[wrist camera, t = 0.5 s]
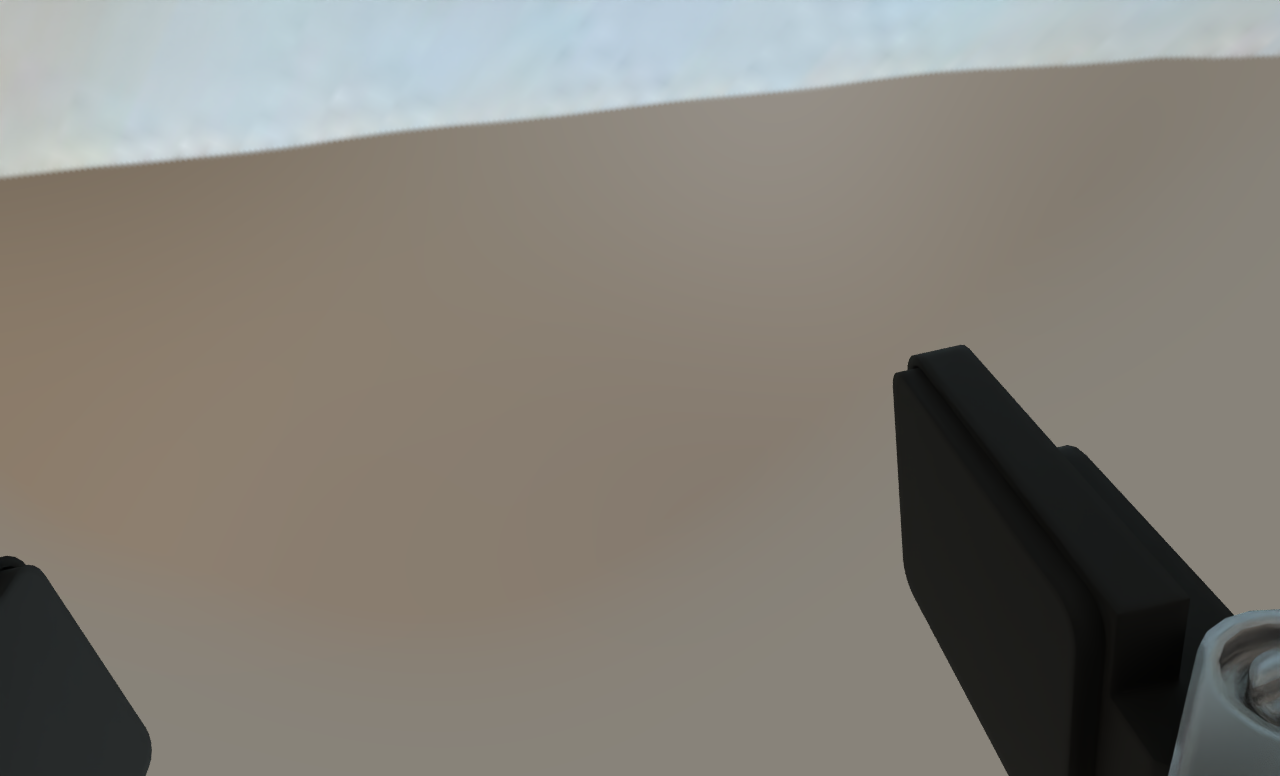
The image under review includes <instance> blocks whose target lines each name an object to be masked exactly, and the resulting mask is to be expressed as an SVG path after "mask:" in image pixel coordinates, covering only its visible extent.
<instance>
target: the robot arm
mask: <svg viewBox="0 0 1280 776" xmlns="http://www.w3.org/2000/svg"><path fill="white" fill-rule="evenodd" d="M893 394H894V412H895V429H896V444H897V445H896V446H897V463H898V480H899V497H900V514H901V531H902V547H903V562H904V569H905V574H906V577H907V581H908V583H909V586H910V589H911V591H912V594H913V596H914V598H915V600H916V601H917V603H918V605H919V607H920V609H921V611H922V613H923V615H924V616H925V618H926V620H927V622H928V624H929V626H930V628H931V630H932V632H933V634H934V636H935V637H936V639H937V641H938V643H939V645H940V647H941V649H942V651H943V652H944V654H945V656H946V658H947V660H948V662H949V664H950V666H951V667H952V670H953V671H954V673H955V675H956V677H957V679H958V681H959V683H960V685H961V686H962V688H963V690H964V692H965V694H966V696H967V698H968V700H969V702H970V704H971V705H972V707H973V709H974V711H975V713H976V715H977V717H978V718H979V721H980V722H981V724H982V726H983V728H984V730H985V732H986V734H987V736H988V737H989V739H990V741H991V743H992V745H993V747H994V749H995V750H996V753H997V755H998V756H999V758H1000V760H1001V762H1002V764H1003V766H1004V768H1005V770H1006V771H1007V773H1008V775H1009V776H1280V609H1278V610H1257V611H1248V612H1245V613H1242V614H1238V615H1235V616H1234V615H1233V614H1232V613H1231V611H1230V610H1229V609H1228V608H1227V607H1226V606H1225V605H1224V604H1223V603H1222V602H1221V601H1220V599H1218V597H1217V596H1216V595H1215V594H1214V593H1213V592H1212V591H1211V590H1210V589H1209V588H1208V587H1207V585H1206V584H1205V583H1204V582H1203V581H1202V580H1201V579H1200V578H1199V577H1198V576H1197V575H1196V574H1195V572H1194V571H1193V570H1192V569H1191V568H1190V567H1189V566H1188V565H1187V564H1186V563H1185V562H1184V561H1183V559H1182V558H1181V557H1180V556H1179V555H1178V554H1177V553H1176V552H1175V551H1174V550H1173V549H1172V548H1171V546H1169V544H1168V543H1167V542H1166V541H1165V540H1164V539H1163V538H1162V537H1161V536H1160V535H1159V534H1158V532H1157V531H1156V530H1155V529H1154V528H1153V527H1152V526H1151V525H1150V524H1149V523H1148V522H1147V520H1146V519H1145V518H1144V517H1143V516H1142V515H1141V514H1140V513H1139V512H1138V511H1137V510H1136V509H1135V507H1134V506H1133V505H1132V504H1131V503H1130V502H1129V501H1128V500H1127V499H1126V498H1125V497H1124V496H1123V494H1122V493H1121V492H1120V491H1119V490H1118V489H1117V488H1116V487H1115V486H1114V485H1113V484H1112V483H1111V481H1110V480H1109V479H1108V478H1107V477H1106V476H1105V475H1104V474H1103V473H1102V472H1101V471H1100V470H1099V468H1097V467H1096V465H1095V464H1094V463H1093V462H1092V461H1091V460H1090V459H1089V458H1088V457H1087V456H1086V455H1085V454H1084V453H1083V452H1082V451H1080V450H1079V449H1078V448H1077V447H1073V446H1069V445H1066V446H1062V447H1056V446H1055V445H1054V444H1053V442H1052V441H1051V440H1050V439H1049V438H1048V437H1047V436H1046V435H1045V433H1043V431H1042V430H1041V429H1040V428H1039V427H1038V426H1037V424H1036V423H1035V422H1034V421H1033V420H1032V419H1031V418H1030V417H1029V415H1028V414H1027V413H1026V412H1025V411H1024V410H1023V409H1022V408H1021V406H1020V405H1019V404H1018V403H1017V402H1016V401H1015V400H1014V398H1013V397H1012V396H1011V395H1010V394H1009V393H1008V392H1007V391H1006V389H1005V388H1004V387H1003V386H1002V385H1001V384H1000V383H999V382H998V380H997V379H996V378H995V377H994V376H993V375H992V374H991V373H990V371H989V370H988V369H987V368H986V367H985V366H984V365H983V364H982V362H981V361H980V360H979V359H978V358H977V357H976V356H975V355H974V353H973V352H972V351H971V350H970V349H969V348H968V347H966V346H965V345H958V346H954V347H949V348H944V349H940V350H935V351H931V352H926V353H922V354H918V355H913V356H911V357H910V359H909V362H908V370H907V371H902V372H898V373H895V375H894V378H893ZM151 752H152V749H151V740H150V737H149V733H148V731H147V729H146V727H145V726H144V724H143V723H142V722H141V720H140V718H139V717H138V715H137V714H136V712H135V711H134V710H133V708H132V706H131V705H130V703H129V702H128V700H127V699H126V697H125V696H124V694H123V693H122V691H121V690H120V688H119V687H118V685H117V684H116V682H115V680H114V679H113V678H112V676H111V675H110V673H109V672H108V670H107V668H106V667H105V665H104V664H103V662H102V661H101V660H100V658H99V656H98V655H97V653H96V652H95V650H94V649H93V647H92V646H91V645H90V643H89V641H88V640H87V638H86V637H85V635H84V634H83V632H82V630H81V629H80V627H79V626H78V625H77V623H76V621H75V620H74V618H73V617H72V615H71V614H70V612H69V611H68V609H67V608H66V607H65V605H64V603H63V602H62V600H61V599H60V597H59V596H58V594H57V593H56V591H55V590H54V588H53V587H52V585H51V583H50V582H49V580H48V579H47V577H46V576H45V575H44V573H43V572H42V571H41V570H40V569H39V568H37V567H35V566H33V565H25V564H24V562H23V561H21V560H19V559H18V558H16V557H11V556H4V557H0V776H146V773H147V770H148V768H149V765H150V761H151Z"/></svg>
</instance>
